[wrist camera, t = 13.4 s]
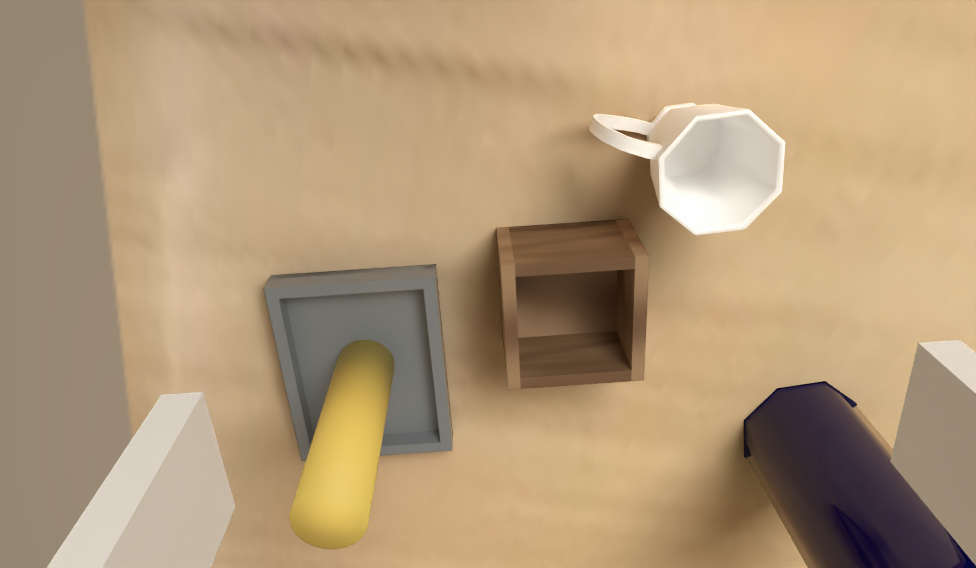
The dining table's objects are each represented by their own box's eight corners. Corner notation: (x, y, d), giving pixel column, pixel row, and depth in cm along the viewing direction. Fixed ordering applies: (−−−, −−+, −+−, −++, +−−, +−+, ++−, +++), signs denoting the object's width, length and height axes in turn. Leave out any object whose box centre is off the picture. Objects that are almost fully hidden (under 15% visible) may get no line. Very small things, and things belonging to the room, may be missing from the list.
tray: (271, 275, 48) (263, 288, 46) (435, 264, 48) (434, 277, 46) (307, 443, 54) (301, 460, 52) (452, 433, 54) (452, 450, 52)
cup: (708, 202, 46) (754, 251, 39) (563, 163, 45) (582, 206, 38) (754, 97, 44) (812, 128, 36) (600, 51, 42) (629, 74, 35)
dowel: (333, 341, 49) (282, 492, 36) (391, 337, 49) (362, 487, 36) (342, 389, 51) (296, 551, 37) (397, 386, 51) (372, 546, 37)
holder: (496, 227, 47) (500, 265, 41) (627, 219, 47) (649, 255, 41) (503, 341, 50) (508, 389, 45) (624, 333, 50) (643, 380, 45)
